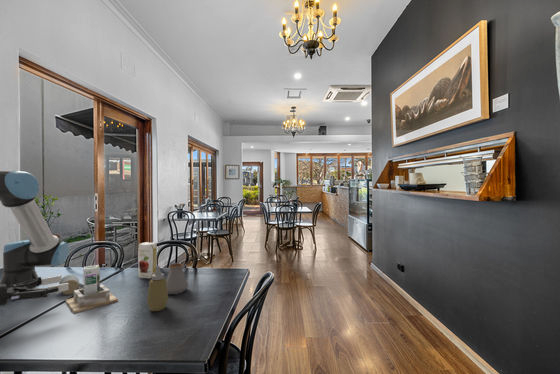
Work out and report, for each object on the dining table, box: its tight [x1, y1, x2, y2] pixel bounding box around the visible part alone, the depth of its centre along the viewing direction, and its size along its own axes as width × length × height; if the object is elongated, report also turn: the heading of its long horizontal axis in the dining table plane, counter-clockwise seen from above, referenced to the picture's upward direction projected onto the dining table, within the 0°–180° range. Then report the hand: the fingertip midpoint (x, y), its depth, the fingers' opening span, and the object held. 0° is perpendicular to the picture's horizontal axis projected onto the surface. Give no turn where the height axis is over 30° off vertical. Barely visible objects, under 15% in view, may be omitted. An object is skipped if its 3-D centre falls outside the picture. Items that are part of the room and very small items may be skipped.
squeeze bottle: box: [146, 265, 169, 312], centre depth 116 cm, size 8×8×18 cm
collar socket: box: [65, 283, 119, 314], centre depth 123 cm, size 16×16×5 cm
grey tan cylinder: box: [58, 274, 84, 296], centre depth 134 cm, size 11×8×8 cm
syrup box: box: [83, 264, 101, 295], centre depth 123 cm, size 6×6×14 cm
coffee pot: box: [165, 254, 200, 295], centre depth 140 cm, size 21×12×15 cm, turn 155°
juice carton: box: [137, 241, 158, 280], centre depth 157 cm, size 8×9×19 cm
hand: (64, 282), depth 116 cm, fingers open, 13 cm apart
